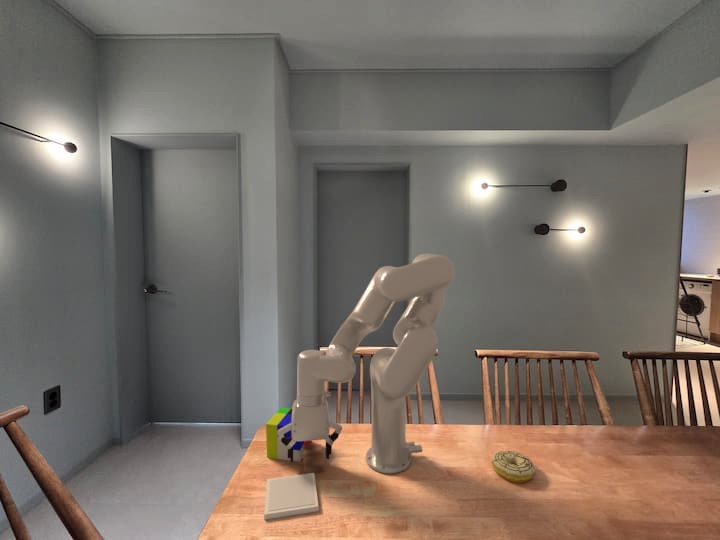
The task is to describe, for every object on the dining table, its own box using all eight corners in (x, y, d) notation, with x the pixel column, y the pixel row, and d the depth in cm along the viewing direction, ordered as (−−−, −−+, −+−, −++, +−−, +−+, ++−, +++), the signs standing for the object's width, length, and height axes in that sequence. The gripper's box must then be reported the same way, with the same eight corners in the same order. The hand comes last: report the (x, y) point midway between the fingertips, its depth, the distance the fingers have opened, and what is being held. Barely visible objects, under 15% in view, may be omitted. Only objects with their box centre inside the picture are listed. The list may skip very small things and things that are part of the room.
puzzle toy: (300, 461, 100) (299, 427, 99) (267, 457, 102) (266, 424, 101) (311, 442, 109) (311, 410, 109) (281, 438, 111) (280, 407, 111)
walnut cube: (321, 461, 100) (321, 444, 100) (323, 472, 95) (323, 454, 95) (303, 463, 99) (303, 446, 98) (304, 475, 94) (304, 457, 94)
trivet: (314, 477, 93) (314, 472, 93) (318, 511, 81) (318, 505, 81) (267, 483, 91) (266, 478, 91) (264, 519, 79) (264, 514, 79)
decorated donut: (541, 473, 95) (542, 459, 94) (524, 492, 88) (524, 477, 87) (504, 455, 102) (504, 443, 102) (484, 471, 95) (485, 458, 95)
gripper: (340, 389, 101) (339, 447, 102) (278, 393, 97) (277, 453, 98) (345, 401, 93) (343, 463, 95) (277, 405, 90) (276, 470, 91)
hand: (309, 458), depth 97 cm, fingers open, 9 cm apart
